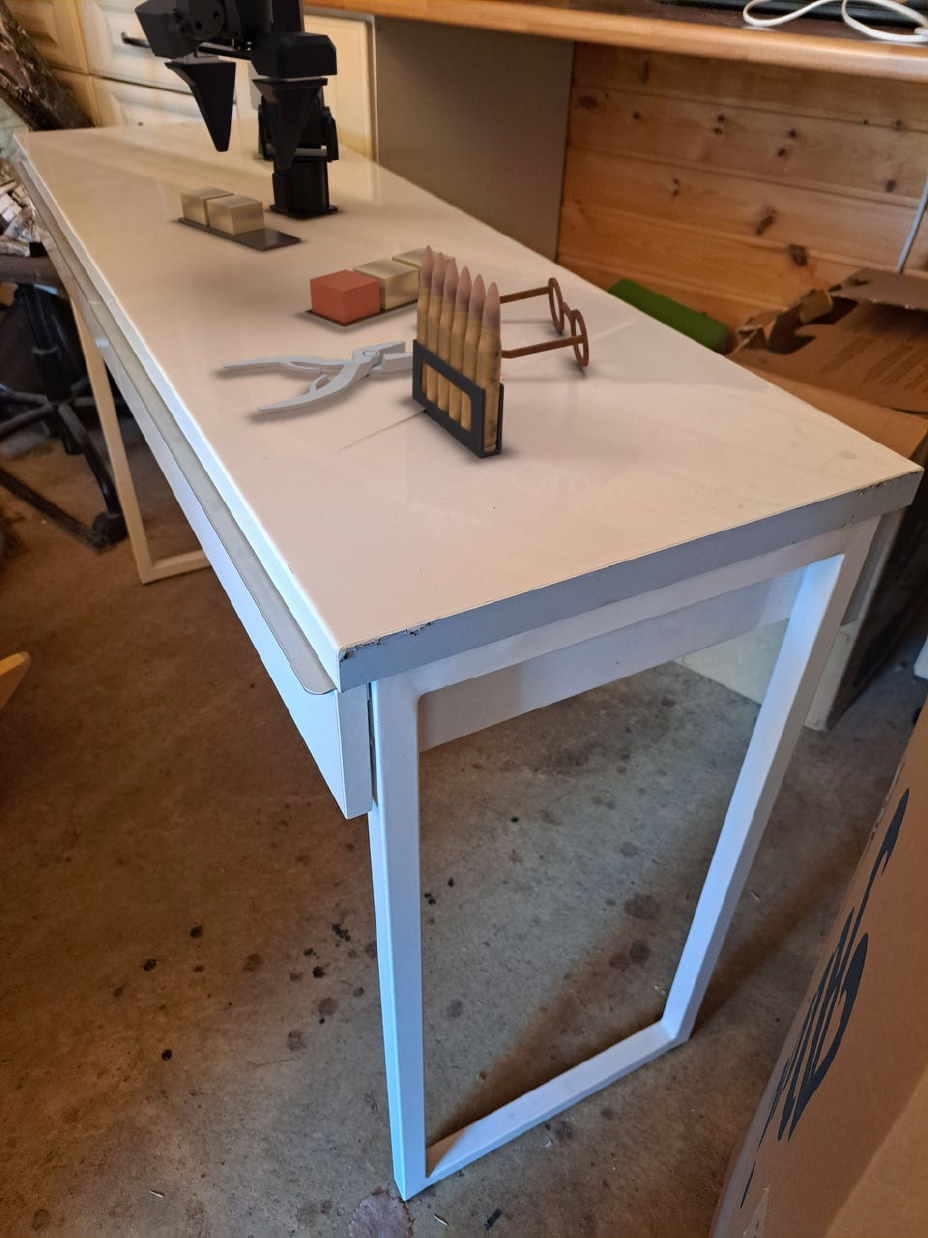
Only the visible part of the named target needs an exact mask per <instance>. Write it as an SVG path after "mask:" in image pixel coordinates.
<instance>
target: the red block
mask: <svg viewBox="0 0 928 1238" xmlns="http://www.w3.org/2000/svg"><path fill="white" fill-rule="evenodd" d="M309 287H310V300H311V309H312V311H313V312H315V313H318V314H321V315H323V316H326V317H328V318H331V319H334V320H336V321H339V322H341V323H344V324H345V323H348V322H351V321H354V320H357V319H360V318H363V317H366V316H370V315H373V314H376V313H379V312H380V301H379V280H376V279H373V278H370V277H367V276H364V275H361V274H358V273H355V272H353V270H350V269H349V270H348V269H342V270H338V271H335V272H332V273H328V274H324V275H321V276H317V277H313V278H310V279H309Z"/></svg>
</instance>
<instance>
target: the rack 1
mask: <svg viewBox="0 0 928 1238" xmlns="http://www.w3.org/2000/svg"><path fill="white" fill-rule="evenodd" d="M179 196H180V203H181V208H182V217H181V216H180V217H178V218H177V221H178V222H179V223H182V224H183V225H184V224H185V225H188V226H190V227H193V228H197V229H199V230H202V231H204V232H207V233H210V234H213V235H216V236H219V237H221V238H224V239H228V240H230V241H233V242H236V243H239V244H242V245H244V246H248V247H250V248H253V249H256V250H259V251H262V252H264V251H268V250H272V249H276V248H280V247H284V246H288V245H292V244H298V243H301V238H300V237H297V236H294V235H291V234H288V233H285V232H282V231H279V230H276V229H273V228H270V227H267V226H266V225H265V217H264V206H263V201H261V200H258V199H254V198H253V197H252V198H251V197H248V196H245V195H242V194H235V193H234V192H232V191H228V190H225V189H222V188H219V187H216V186H213V185H211V186H203V187H199V188H193V189H188V190H182V191H180V192H179Z"/></svg>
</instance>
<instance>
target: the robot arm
mask: <svg viewBox="0 0 928 1238" xmlns="http://www.w3.org/2000/svg"><path fill="white" fill-rule="evenodd" d="M134 13H135V15H136V17H137V19H138V22H139V25H140V26H141V29H142V31H143V34H144V36H145V39H146V40H147V43H148V45H149V48H150V50H151V52H152V54H153V55H154V57H156V58H163V59H168V60H170V61H165V62H163V64H164V66H165V67H166V68H167V69H168V70H170V71H172V72H173V73H174V74H175V75H177V76H178V77H179V78H180V79H181V80H183V82H184V83H185V84H186V85H187V86H188V87H189V90H190V91H191V94H192V96H193V98H194V100H195V102H196V104H197V107H198V109H199V112H200V114H201V116H202V119H203V121H204V124H205V126H206V129H207V131H208V134H209V136H210V138H211V141H212V144H213V146H214V148H215V150H216V152H218V153H227V152H229V147H230V142H231V135H232V125H233V124H232V123H233V111H234V98H235V87H236V85H235V84H236V74H237V73H236V71H237V62H236V61H231V60H226V59H220V57H225V58H231V59H237V60H242V61H247V60H248V61H251V63H252V65H253V67H254V69H255V70H256V72H257V74H258V75H261V76H266V77H267V78H261V79H252V82H253V83H254V85H255V86H256V87H257V89H258V90H259V91H260V92H261V94H262V95H261V104H259V105H258V111H257V122H258V131H260V138H261V144H262V150H263V161H266V162H267V161H272V167H273V172H272V173H271V182H272V191H273V192H272V193H273V204H269V206H268V208H269V210H270V211H273V212H277V213H279V214H282V215H286V216H290V217H293V218H296V219H299V220H300V219H301V220H303V219H308V218H311V217H317V216H321V215H327V214H329V213H335V212H338V211H339V206H337V205H334V204H330V188H329V169H328V164H329V163H331V164H332V163H333V161H339V160H340V150H339V138H338V130H337V120H336V118H335V117H334V116H333V114H332V112H331V108H330V105H326V104H325V103H326V102H325V94H324V93H325V91H324V87H327V86H328V85H329V78H328V77H331V76H337V75H338V56H337V55H338V54H337V53H338V52H337V47H336V45H335V44H334V42H333V41H332V40H331V38H330V36H329V35H328V34H325V33H316V32H309V31H306V26H305V14H304V3H303V0H145V1H144V2H142V3H141V4H138V5H137V6H136V7H134ZM323 147H325V148H323Z"/></svg>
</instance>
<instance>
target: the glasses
mask: <svg viewBox="0 0 928 1238" xmlns="http://www.w3.org/2000/svg"><path fill="white" fill-rule="evenodd" d="M547 281H548V282H547V286H546V285H545V286H541V287H536V288H533V289H528V290H523V291H518V292H513V293H509V294H505V295H499V298H500V305H503V304H506V303H512V302H516V301H521V300H526V299H530V298H536V297H539V296H545V295H548V303H549V304H548V305H549V309H550V314H551V319H552V322H553V325H554V327H555V329H556V331H557V332H563V331H564V330H565V326H566V325H565V323H566V322H565V320H566V319H565V317H566V318H567V320H568V322H569V326H570V336H569V337H563V338H560V339H555V340H551V341H546V342H541V343H535V344H531V345H527V346H523V347H519V348H513V349H510V350H508V349H502V357H501V359H508V360H511V359H517V358H521V357H525V356H530V355H534V354H539V353H544V352H548V351H554V350H557V349H563V348H567V347H572V348H573V352H574V356H575V358H576V361H577V363H578V365H579V366H580V367H581V368H587V367H588V366H589V362H590V346H589V338H588V337H589V336H588V332H587V331H588V330H587V327H586V323H585V320H584V317H583V315H582V313H581V311H580V310H579V309H578V308H576V309H572V310H571V308H570V307H569V306H568V303H566V301H564V299H563V294H562V290H561V287H560V285H559V282H558V280H557V278H556V277H554V276H553V277H549V278H548V280H547ZM554 292H555V296H556V299H557V300H556V301H557V306H558V315H557V312H556V311H557V310H556V306H555V298H554V297H555V296H554ZM577 323H578V327H579V330H580V334H579V335H577ZM580 344H582V353H581V350H580V347H579V345H580Z"/></svg>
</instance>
